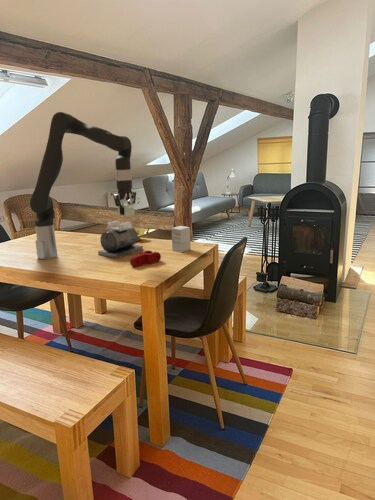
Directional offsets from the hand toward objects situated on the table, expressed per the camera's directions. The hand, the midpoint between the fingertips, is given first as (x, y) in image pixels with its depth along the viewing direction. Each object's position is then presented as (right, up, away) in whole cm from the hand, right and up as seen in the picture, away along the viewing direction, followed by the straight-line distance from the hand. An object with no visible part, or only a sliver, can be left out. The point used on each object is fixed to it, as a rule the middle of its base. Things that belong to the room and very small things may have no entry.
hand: (126, 213), depth 191 cm
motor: (-6, -19, +20) cm, 28 cm away
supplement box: (+27, -18, +20) cm, 38 cm away
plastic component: (-6, -13, +46) cm, 48 cm away
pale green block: (0, 0, 0) cm, 0 cm away
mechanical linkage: (+9, -25, -2) cm, 27 cm away
